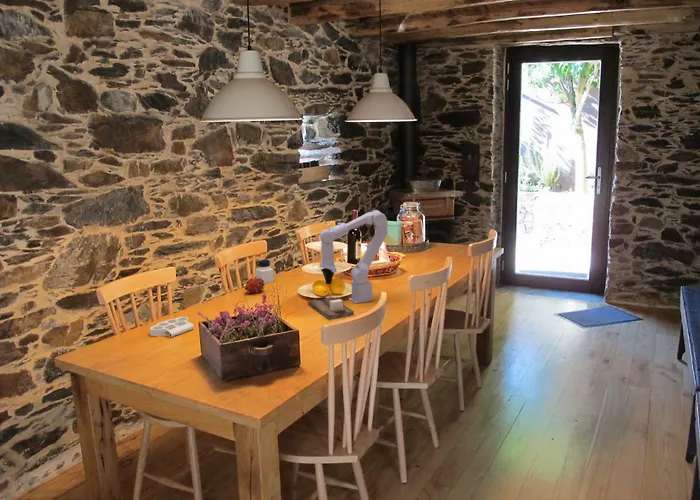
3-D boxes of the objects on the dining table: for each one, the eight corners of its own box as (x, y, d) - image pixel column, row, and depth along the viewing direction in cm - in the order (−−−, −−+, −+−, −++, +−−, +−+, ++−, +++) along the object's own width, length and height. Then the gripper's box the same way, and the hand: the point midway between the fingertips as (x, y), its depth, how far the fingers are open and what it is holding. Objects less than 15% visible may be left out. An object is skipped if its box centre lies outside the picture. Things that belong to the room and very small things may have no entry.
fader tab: (340, 307, 272) (339, 299, 271) (342, 309, 269) (342, 300, 268) (329, 309, 270) (329, 300, 269) (332, 311, 267) (332, 302, 266)
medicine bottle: (274, 281, 324) (272, 260, 321) (262, 284, 320) (260, 262, 317) (268, 278, 330) (266, 257, 327) (256, 281, 326) (254, 259, 323)
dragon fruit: (266, 292, 310) (248, 301, 302) (256, 281, 313) (238, 289, 305) (270, 282, 304) (251, 291, 297) (260, 270, 308) (241, 279, 300)
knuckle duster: (165, 341, 245) (143, 334, 253) (200, 328, 259) (178, 321, 267) (164, 333, 244) (142, 326, 253) (199, 320, 258) (178, 314, 266)
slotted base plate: (331, 300, 289) (331, 294, 289) (353, 315, 268) (353, 308, 267) (308, 304, 284) (308, 298, 283) (329, 320, 263) (328, 313, 262)
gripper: (313, 253, 286) (314, 281, 289) (326, 260, 273) (327, 288, 276) (327, 251, 289) (328, 279, 292) (340, 258, 276) (341, 286, 279)
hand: (328, 283), depth 284 cm, fingers closed
